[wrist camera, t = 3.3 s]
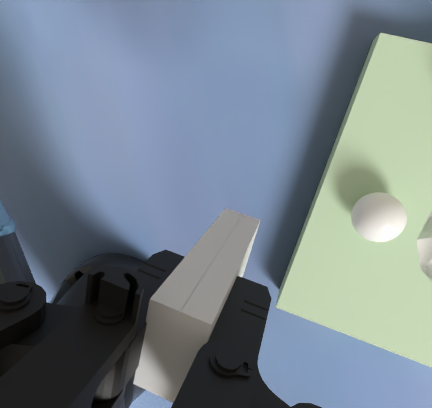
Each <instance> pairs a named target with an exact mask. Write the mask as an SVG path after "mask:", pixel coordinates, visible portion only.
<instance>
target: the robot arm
mask: <svg viewBox="0 0 432 408" xmlns="http://www.w3.org/2000/svg"><path fill="white" fill-rule="evenodd" d="M259 224H260V220H259V219H256V218H253V217H250V216H247V215H244V214H241V213H238V212H235V211H232V210H229V209H226V208H225V210H224V211H223V212H222V213H221V214H220V216H219V217H218V218H217V219H216V220H215V222H214V223H213V224H212V225H211V226H210V228H209V229H208V230H207V231H206V232H205V234H204V235H203V236H202V237H201V238H200V240H199V241H198V242H197V243H196V244H195V246H194V247H193V248H192V249H191V250H190V252H189V253H188V254H187V255H186V256H185V257H184V256H181V255H178V254H176V253H173V252H170V251H168V250H164V251H161V252H158V253H156V254H153V255H152V256H151V257H150V258H149V259H148V260H147V261H146V262H145V263H144V262H142V261H140V260H138V259H135V258H133V257H129V256H126V255H121V254H103V255H99V256H95V257H93V258H91V259H89V260H87V261H86V262H84V263H83V264H82V265H80V266H79V267H77V268H76V269H75V270H73V271H72V272H71V273H70V274H69V275H68V276H67V277H66V279H65V280H64V281H63V283H62V284H61V286H60V287H59V289H58V291H57V292H56V294H55V295H54V297H53V298H52V300H51V301H50V303H46V292H45V291H44V290H43V288H42V287H41V286H39V285H37V284H36V283H35V280H34V278H33V275H32V273H31V270H30V268H29V265H28V263H27V260H26V258H25V256H24V253H23V251H22V248H21V246H20V243H19V241H18V238H17V236H16V234H15V230H16V225H15V222H14V220H12V219H11V218H9V217H8V215H7V212H6V210H5V208H4V206H3V204H2V202H1V200H0V408H129V406H130V405H131V403H132V402H133V401H134V400H135V399H136V398H137V397H138V396H139V395H141V394H142V393H143V392H144V391H145V390H147V391H150V392H152V393H154V394H156V395H158V396H160V397H162V398H164V399H166V400H168V401H171V402H173V405H172V407H171V408H321V407H319V406H316V405H314V404H311V403H298V404H296V405H294V406H292V407H290V406H289V405H287V404H286V403H285V402H284V401H282V400H281V399H280V398H278V397H277V396H276V395H275V394H274V393H273V392H272V391H271V390H270V389H269V388H268V387H267V385H266V384H265V383H264V381H263V380H262V378H261V376H260V373H259V370H258V365H257V362H258V355H259V350H260V346H261V342H262V337H263V333H264V328H265V324H266V320H267V315H268V311H269V307H270V302H271V296H270V294H269V291H268V288H267V287H266V286H263V285H261V284H258V283H255V282H253V281H250V280H247V279H245V278H242V277H243V274H244V270H245V267H246V264H247V261H248V258H249V255H250V252H251V249H252V245H253V242H254V239H255V236H256V233H257V230H258V227H259Z"/></svg>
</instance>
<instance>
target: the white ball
mask: <svg viewBox="0 0 432 408" xmlns="http://www.w3.org/2000/svg"><path fill="white" fill-rule="evenodd" d="M351 221H352V225H353V227H354V229H355V230H356V232H357V233H358V234H359V235H360V236H362V237H363V238H365V239H367V240H369V241H373V242H386V241H390V240H392V239H394V238H396V237H397V236H398V235H400V234H401V232H402V231H403V230H404V228H405V225H406V222H407V214H406V210H405V208H404V206H403V204H402V203H401V202H400V201H399V200H398V199H397V198H396V197H394V196H392V195H390V194H387V193H382V192H375V193H370V194H367V195H365V196H363V197H362V198H360V199H359V200H358V201H357V202H356V203H355V205H354V207H353V209H352V212H351Z"/></svg>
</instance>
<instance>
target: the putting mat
mask: <svg viewBox="0 0 432 408" xmlns="http://www.w3.org/2000/svg"><path fill="white" fill-rule="evenodd" d="M375 192H382V193H387V194H390V195H392V196H394V197H396V198H397V199H398V200H399V201H400V202H401V203H402V204H403V206H404V208H405V210H406V214H407V222H406V225H405V228H404V230H403V231H402V232H401V234H400V235H398V236H397V237H396V238H394V239H392V240H390V241H386V242H373V241H369V240H367V239H365V238H363V237H362V236H360V235H359V234H358V233H357V232H356V230H355V229H354V227H353V225H352V221H351V212H352V209H353V207H354V205H355V203H356V202H357V201H358V200H359V199H360V198H362V197H363V196H365V195H367V194H370V193H375ZM276 308H279V309H282V310H284V311H287V312H289V313H292V314H295V315H297V316H300V317H302V318H305V319H308V320H310V321H313V322H315V323H318V324H321V325H323V326H326V327H328V328H331V329H333V330H336V331H339V332H341V333H344V334H346V335H349V336H352V337H354V338H357V339H359V340H362V341H365V342H367V343H370V344H372V345H375V346H378V347H380V348H383V349H385V350H388V351H391V352H393V353H396V354H398V355H401V356H404V357H406V358H409V359H411V360H414V361H417V362H419V363H422V364H424V365H427V366H430V367H432V43H427V42H422V41H418V40H413V39H408V38H404V37H399V36H394V35H389V34H385V33H380V34H379V35H378V36H377V37H376V38H375V39H374V40H373V42H372V45H371V47H370V50H369V53H368V55H367V58H366V61H365V63H364V66H363V69H362V71H361V74H360V77H359V79H358V82H357V85H356V87H355V90H354V93H353V95H352V98H351V101H350V103H349V106H348V109H347V111H346V114H345V116H344V119H343V122H342V124H341V127H340V130H339V132H338V135H337V138H336V140H335V143H334V146H333V148H332V151H331V154H330V156H329V159H328V162H327V164H326V167H325V170H324V172H323V175H322V178H321V180H320V183H319V186H318V188H317V191H316V194H315V196H314V199H313V201H312V204H311V207H310V209H309V212H308V215H307V217H306V220H305V223H304V225H303V228H302V231H301V233H300V236H299V239H298V241H297V244H296V247H295V249H294V252H293V255H292V257H291V260H290V263H289V265H288V268H287V271H286V273H285V276H284V279H283V281H282V284H281V286H280V289H279V294H278V299H277V304H276Z"/></svg>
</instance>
